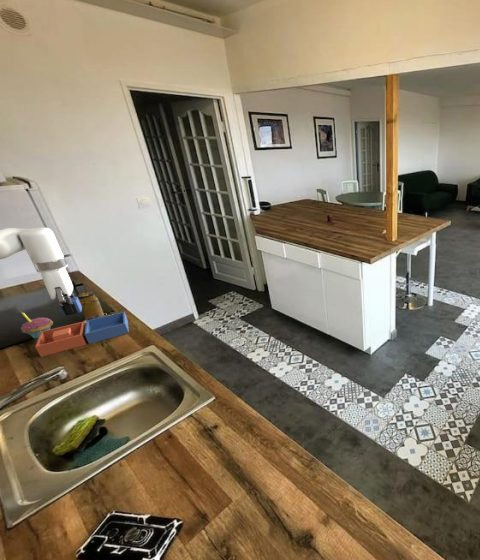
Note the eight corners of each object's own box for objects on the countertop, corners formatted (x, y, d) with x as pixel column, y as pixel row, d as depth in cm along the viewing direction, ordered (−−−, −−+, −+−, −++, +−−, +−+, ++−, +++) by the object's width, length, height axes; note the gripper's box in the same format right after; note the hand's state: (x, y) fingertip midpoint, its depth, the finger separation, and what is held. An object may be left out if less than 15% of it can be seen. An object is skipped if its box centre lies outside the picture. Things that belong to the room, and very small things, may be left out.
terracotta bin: (40, 357, 112) (35, 346, 110) (46, 341, 120) (40, 331, 119) (86, 344, 119) (81, 334, 117) (88, 330, 127) (83, 321, 126)
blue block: (63, 316, 109) (58, 304, 107) (65, 310, 112) (60, 300, 111) (81, 312, 112) (75, 301, 110) (82, 307, 115) (77, 296, 113)
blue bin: (88, 343, 119) (84, 334, 117) (90, 329, 128) (86, 320, 126) (128, 332, 126) (125, 323, 125) (127, 320, 135) (124, 311, 133)
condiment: (91, 315, 138) (81, 291, 133) (113, 313, 140) (104, 289, 135) (81, 323, 132) (69, 299, 127) (104, 321, 134) (94, 297, 129)
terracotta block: (57, 346, 117) (52, 336, 115) (58, 341, 120) (53, 331, 118) (73, 342, 119) (68, 332, 117) (74, 337, 122) (69, 327, 121)
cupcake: (34, 343, 119) (19, 316, 114) (21, 338, 122) (6, 312, 117) (62, 331, 127) (49, 305, 122) (49, 327, 129) (36, 302, 124)
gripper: (40, 259, 108) (62, 305, 116) (29, 275, 96) (54, 324, 104) (69, 255, 113) (88, 299, 120) (62, 269, 101) (84, 317, 108)
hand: (72, 310), depth 112 cm, fingers closed on blue block, 4 cm apart
